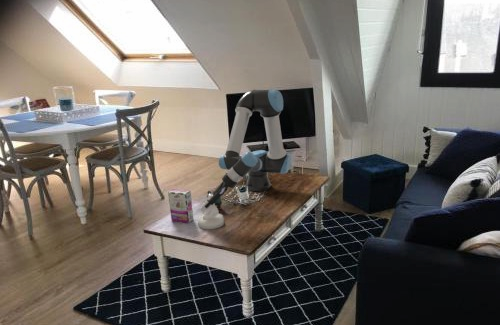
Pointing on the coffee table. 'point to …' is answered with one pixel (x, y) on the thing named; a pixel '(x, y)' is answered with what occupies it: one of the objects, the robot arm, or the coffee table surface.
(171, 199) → the candy bar box
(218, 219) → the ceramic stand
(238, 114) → the robot arm
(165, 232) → the coffee table surface
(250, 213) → the coffee table surface
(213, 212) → the white creature statuette
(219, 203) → the green bottle cruet set
